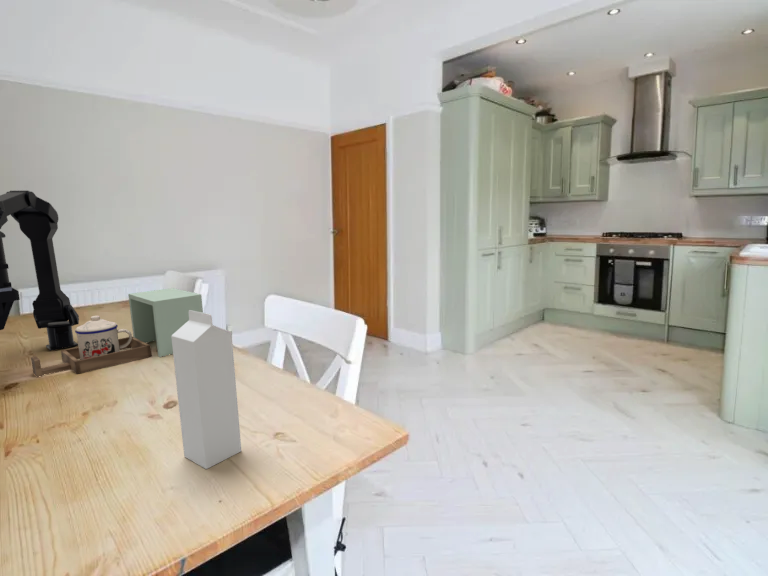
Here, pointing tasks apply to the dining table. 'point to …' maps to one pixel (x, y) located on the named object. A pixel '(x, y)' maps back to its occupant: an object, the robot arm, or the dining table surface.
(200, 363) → the milk
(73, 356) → the tray
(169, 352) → the shelf
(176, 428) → the dining table surface
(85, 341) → the teacup with lid
